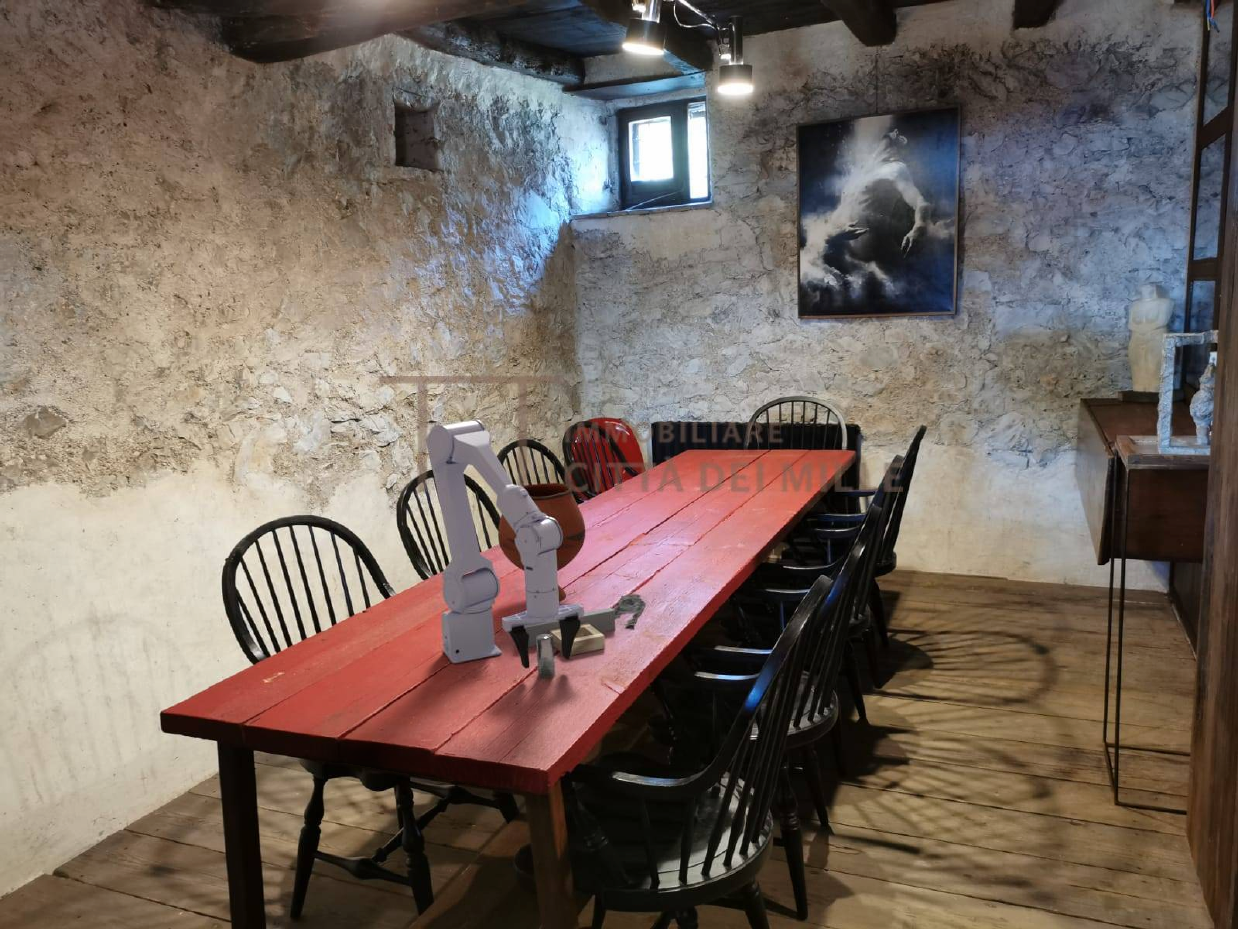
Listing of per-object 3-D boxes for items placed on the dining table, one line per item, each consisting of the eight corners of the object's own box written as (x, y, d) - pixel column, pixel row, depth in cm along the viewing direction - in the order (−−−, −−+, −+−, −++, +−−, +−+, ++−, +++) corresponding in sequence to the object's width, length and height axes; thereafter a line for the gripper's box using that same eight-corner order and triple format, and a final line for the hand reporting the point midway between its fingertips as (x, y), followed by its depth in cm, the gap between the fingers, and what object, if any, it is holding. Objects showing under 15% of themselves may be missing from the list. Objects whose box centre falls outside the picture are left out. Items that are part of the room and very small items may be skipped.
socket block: (565, 656, 170) (564, 643, 170) (550, 642, 177) (549, 630, 177) (604, 648, 174) (604, 635, 173) (588, 635, 181) (587, 623, 180)
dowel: (541, 679, 160) (539, 641, 159) (535, 673, 163) (533, 636, 162) (557, 675, 162) (555, 638, 160) (551, 670, 164) (549, 633, 163)
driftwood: (622, 597, 205) (622, 588, 205) (652, 598, 204) (651, 589, 203) (601, 631, 185) (600, 621, 185) (634, 632, 184) (633, 622, 184)
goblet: (486, 607, 200) (479, 496, 196) (527, 582, 218) (521, 479, 213) (566, 615, 193) (560, 499, 189) (601, 588, 211) (596, 481, 206)
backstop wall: (520, 648, 175) (519, 628, 175) (517, 645, 177) (515, 625, 176) (615, 629, 184) (614, 610, 183) (611, 626, 185) (610, 607, 185)
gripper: (509, 601, 153) (514, 678, 155) (589, 587, 159) (592, 661, 161) (496, 590, 159) (501, 664, 162) (573, 577, 165) (577, 648, 168)
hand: (546, 662), depth 162 cm, fingers open, 7 cm apart
